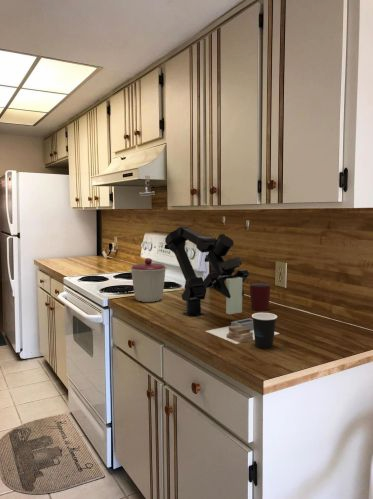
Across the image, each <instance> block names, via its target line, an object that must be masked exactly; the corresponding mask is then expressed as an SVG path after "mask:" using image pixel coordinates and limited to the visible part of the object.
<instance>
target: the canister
mask: <svg viewBox="0 0 373 499" xmlns="http://www.w3.org/2000/svg"><path fill="white" fill-rule="evenodd" d="M152 262H153V260H152V258H149V257H146V258H145V259H144V263H143V262H142V263H136V264H134V265H132V266H131V267H130V268H129V269H130V270H131V271H130V272H131V278H132V279H131V280H132V286H133V292H134V293H133V294H134V298H135V299H136V301H138V302H140V301H142V302H141V303H155V301H156V302H159V301H161V300H162V298H163V295H164V290H165V289H164V288H165V279H166V270H167V266H166V265H164V264H162V263H157V262H156V263H154V262H153V263H152Z"/></svg>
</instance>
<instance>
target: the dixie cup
mask: <svg viewBox="0 0 373 499" xmlns="http://www.w3.org/2000/svg"><path fill="white" fill-rule="evenodd" d="M251 317H252V319H253V327H254V337H255V340H254V346H255V347H256V348H258V349H261V350H264V349H265V350H269V349H272V348H273V346H274V341H275V340H274V338H275V335H274V332H276V331H275V330H276V324H277V323H276V322H277V318H278V315H276V314H274V313H269V312H255V313H253V314H252V315H251Z"/></svg>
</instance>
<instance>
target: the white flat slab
mask: <svg viewBox="0 0 373 499" xmlns="http://www.w3.org/2000/svg"><path fill="white" fill-rule="evenodd" d="M237 325H241V326H243V327H246V328H248V329H250V332H253V340H250V341H249V342H251V341H255V337H254V327H253V318H250V317H249V318H244V319H239V320H234V321H231V322H230V325H227V326H224V327H219V328H212V329H210V330H205V332H206V333H208V334H211V335H214V336H215V337H218V338H220V339H224V340H226V341H229V342H230V343H233V344H236V345H238V344H240V343H239V342H237V341H234V340H232V339H229V338H227V334H229V327H231V326H237ZM279 334H280V332H277V331H275V332H274V336H275V335H279ZM246 342H247V343H248V341H246ZM246 342H245V343H246Z"/></svg>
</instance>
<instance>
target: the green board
mask: <svg viewBox="0 0 373 499" xmlns="http://www.w3.org/2000/svg"><path fill="white" fill-rule="evenodd" d="M225 283H226V284H225V285H226V287H227V289H228V291H229V293H230V296H231V297H230V298H228V297H226V296H225V303H226V304H225V313H226V315H233V314H234V315H235V314H240V313H242V312H243V296H242V278H240V277H237V278H229V279H226V281H225Z"/></svg>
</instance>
